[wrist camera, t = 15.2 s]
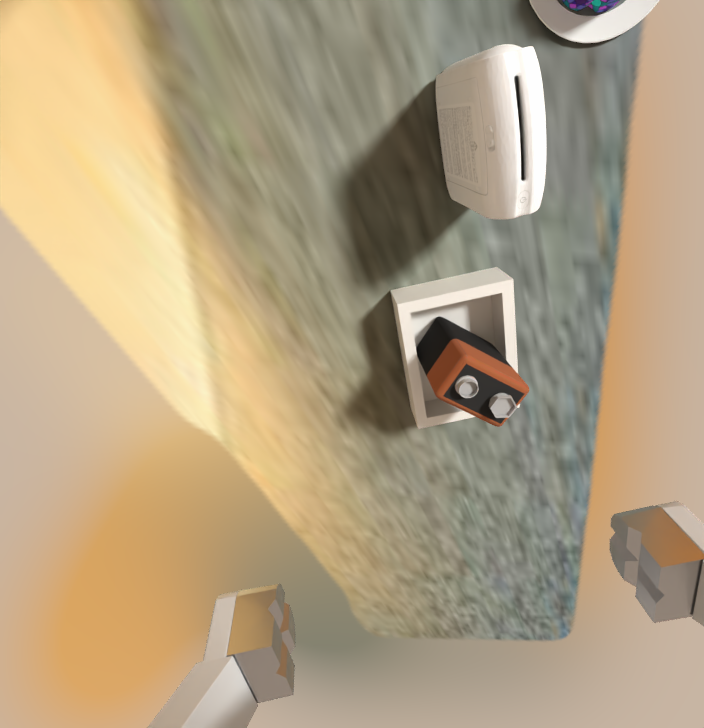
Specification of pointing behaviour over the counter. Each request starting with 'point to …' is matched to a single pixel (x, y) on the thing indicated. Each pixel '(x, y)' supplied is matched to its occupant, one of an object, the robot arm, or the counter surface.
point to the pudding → (591, 18)
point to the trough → (466, 309)
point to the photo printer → (494, 131)
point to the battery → (470, 372)
